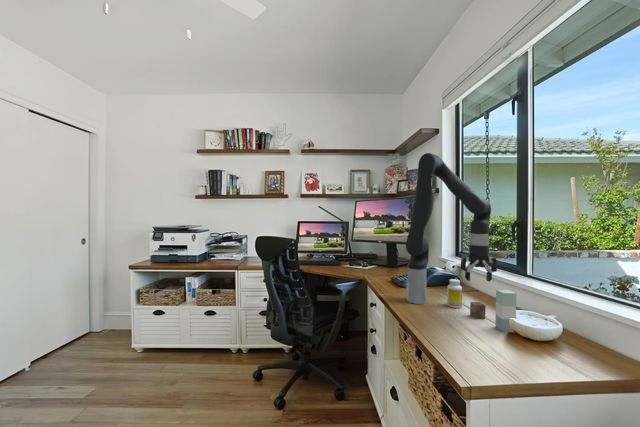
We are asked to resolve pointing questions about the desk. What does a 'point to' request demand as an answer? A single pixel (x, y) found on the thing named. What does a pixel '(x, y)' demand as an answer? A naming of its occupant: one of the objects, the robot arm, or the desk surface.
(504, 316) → the tower mid
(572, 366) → the desk surface
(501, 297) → the tower top
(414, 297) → the robot arm
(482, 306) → the walnut block
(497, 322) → the tower base
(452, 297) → the supplement bottle
